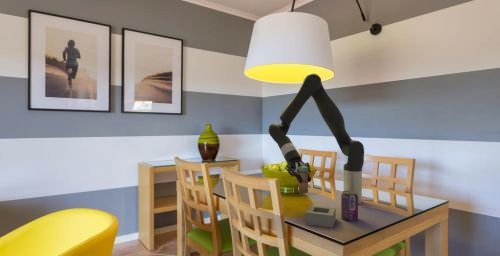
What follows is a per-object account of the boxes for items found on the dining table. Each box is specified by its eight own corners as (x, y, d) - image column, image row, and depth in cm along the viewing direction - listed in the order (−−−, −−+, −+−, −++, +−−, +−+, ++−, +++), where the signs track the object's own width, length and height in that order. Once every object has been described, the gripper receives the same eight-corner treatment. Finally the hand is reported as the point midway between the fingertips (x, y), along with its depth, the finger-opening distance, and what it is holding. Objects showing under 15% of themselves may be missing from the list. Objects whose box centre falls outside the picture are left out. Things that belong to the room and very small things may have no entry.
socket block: (310, 215, 129) (310, 205, 129) (335, 219, 125) (335, 207, 124) (305, 224, 119) (305, 212, 119) (332, 227, 114) (332, 215, 114)
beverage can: (360, 218, 125) (360, 191, 125) (354, 222, 120) (354, 195, 120) (345, 215, 130) (345, 189, 130) (338, 219, 125) (338, 192, 124)
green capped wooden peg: (299, 190, 138) (299, 166, 137) (309, 191, 136) (308, 166, 136) (297, 192, 134) (297, 167, 133) (307, 193, 132) (306, 168, 131)
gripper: (281, 150, 137) (297, 179, 127) (304, 148, 144) (321, 175, 134) (276, 159, 142) (290, 188, 132) (298, 157, 149) (314, 184, 139)
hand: (305, 181), depth 133 cm, fingers closed on green capped wooden peg, 4 cm apart
